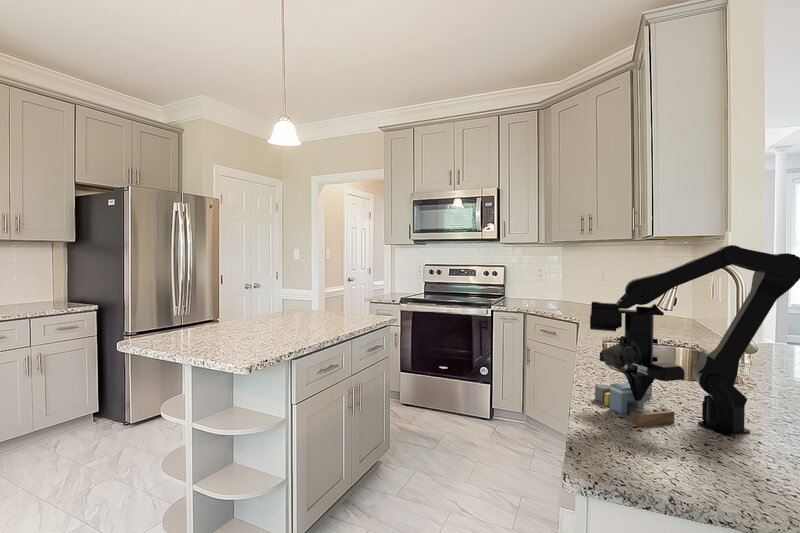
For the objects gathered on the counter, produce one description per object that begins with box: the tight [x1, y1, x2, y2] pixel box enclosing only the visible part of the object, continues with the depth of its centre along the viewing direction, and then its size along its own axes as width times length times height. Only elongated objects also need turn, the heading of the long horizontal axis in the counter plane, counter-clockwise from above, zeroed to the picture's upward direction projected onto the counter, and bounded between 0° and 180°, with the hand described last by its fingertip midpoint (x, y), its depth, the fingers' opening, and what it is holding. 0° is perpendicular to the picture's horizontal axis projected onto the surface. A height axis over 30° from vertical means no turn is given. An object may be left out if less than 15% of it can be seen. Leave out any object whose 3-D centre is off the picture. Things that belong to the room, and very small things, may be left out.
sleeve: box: [609, 382, 644, 415], centre depth 97 cm, size 4×6×6 cm, turn 104°
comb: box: [629, 407, 675, 427], centre depth 90 cm, size 2×9×2 cm, turn 104°
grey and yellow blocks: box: [594, 384, 650, 415], centre depth 97 cm, size 16×4×4 cm, turn 14°
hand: (637, 400), depth 94 cm, fingers closed
